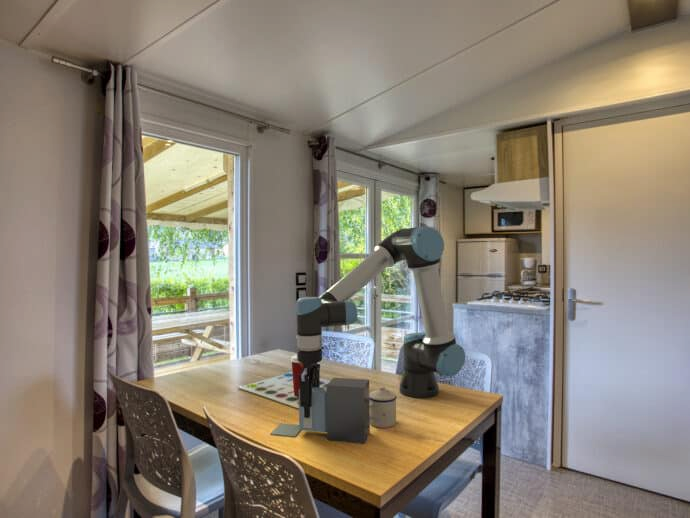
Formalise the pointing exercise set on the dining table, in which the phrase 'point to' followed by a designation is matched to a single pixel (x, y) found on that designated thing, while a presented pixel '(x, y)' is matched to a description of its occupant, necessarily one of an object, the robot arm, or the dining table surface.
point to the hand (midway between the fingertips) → (310, 424)
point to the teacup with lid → (382, 408)
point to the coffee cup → (296, 374)
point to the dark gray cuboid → (348, 410)
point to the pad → (286, 430)
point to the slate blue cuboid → (316, 411)
